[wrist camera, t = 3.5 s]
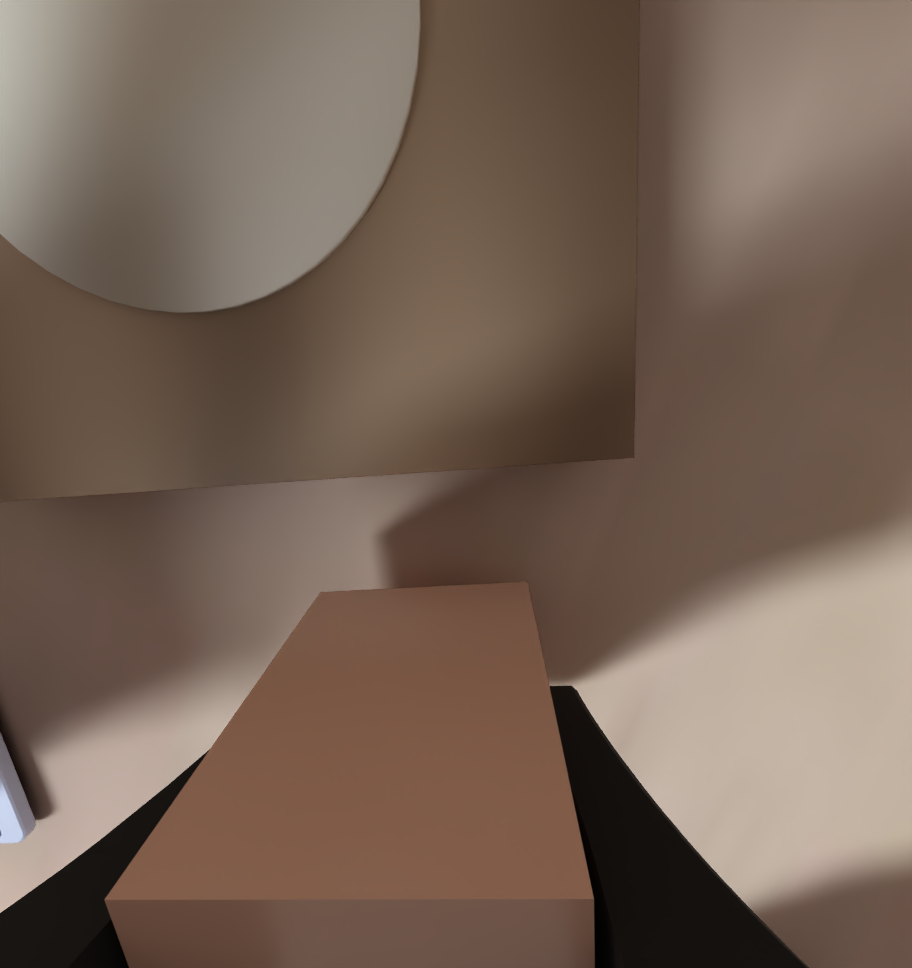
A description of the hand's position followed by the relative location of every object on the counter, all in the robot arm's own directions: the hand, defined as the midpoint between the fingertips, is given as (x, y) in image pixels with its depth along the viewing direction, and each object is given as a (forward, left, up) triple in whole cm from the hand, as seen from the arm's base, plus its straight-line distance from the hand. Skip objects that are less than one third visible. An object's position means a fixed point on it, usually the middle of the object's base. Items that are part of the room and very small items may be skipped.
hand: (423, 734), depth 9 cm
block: (0, 0, -2) cm, 2 cm away
